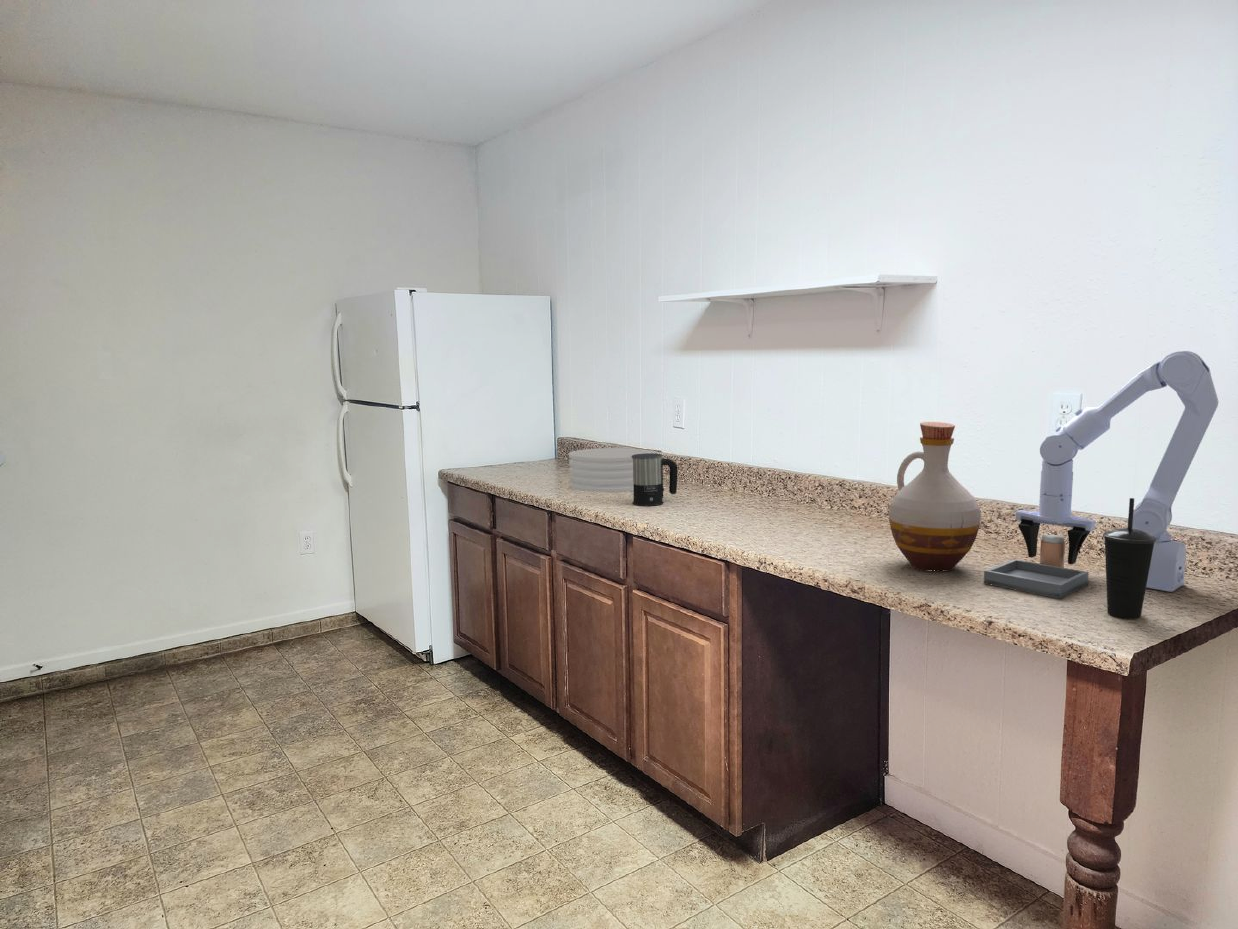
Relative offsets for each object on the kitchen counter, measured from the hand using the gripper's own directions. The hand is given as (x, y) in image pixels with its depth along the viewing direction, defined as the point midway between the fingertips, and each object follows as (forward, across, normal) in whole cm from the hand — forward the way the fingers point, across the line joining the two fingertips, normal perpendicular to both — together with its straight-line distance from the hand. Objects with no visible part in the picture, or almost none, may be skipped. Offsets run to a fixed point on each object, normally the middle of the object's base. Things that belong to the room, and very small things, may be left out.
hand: (1051, 560), depth 169 cm
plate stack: (+3, +148, -9) cm, 148 cm away
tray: (+2, -2, +12) cm, 13 cm away
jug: (+2, +19, +14) cm, 24 cm away
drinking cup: (+2, -20, +21) cm, 29 cm away
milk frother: (+3, +116, +3) cm, 116 cm away
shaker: (+2, 0, 0) cm, 2 cm away
